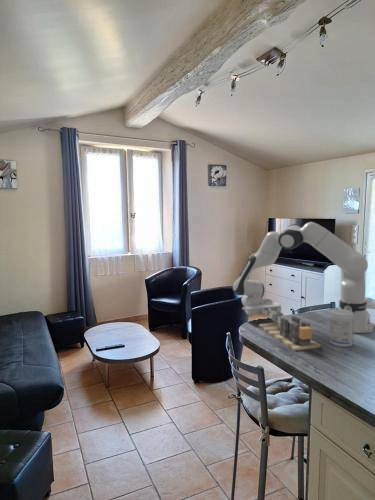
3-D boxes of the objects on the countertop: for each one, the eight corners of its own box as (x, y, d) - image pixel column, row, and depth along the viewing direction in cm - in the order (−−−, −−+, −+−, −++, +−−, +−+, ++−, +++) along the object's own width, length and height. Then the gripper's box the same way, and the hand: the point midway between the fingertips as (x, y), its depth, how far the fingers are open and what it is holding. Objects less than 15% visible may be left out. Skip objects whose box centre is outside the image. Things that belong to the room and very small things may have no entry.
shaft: (266, 320, 170) (267, 309, 169) (277, 319, 171) (277, 308, 171) (289, 334, 149) (290, 322, 148) (301, 333, 150) (301, 320, 150)
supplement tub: (337, 338, 154) (338, 307, 152) (357, 344, 146) (358, 312, 144) (325, 342, 148) (326, 311, 147) (345, 349, 140) (346, 316, 139)
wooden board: (259, 326, 171) (259, 308, 171) (281, 324, 175) (281, 306, 174) (294, 350, 140) (294, 329, 139) (320, 347, 143) (321, 326, 142)
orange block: (298, 337, 143) (298, 327, 143) (307, 336, 144) (308, 326, 144) (302, 339, 141) (302, 329, 140) (311, 338, 142) (311, 328, 141)
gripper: (240, 302, 184) (251, 308, 171) (273, 299, 189) (286, 305, 176) (240, 313, 185) (251, 320, 171) (273, 310, 190) (286, 316, 176)
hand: (269, 312), depth 174 cm, fingers closed
